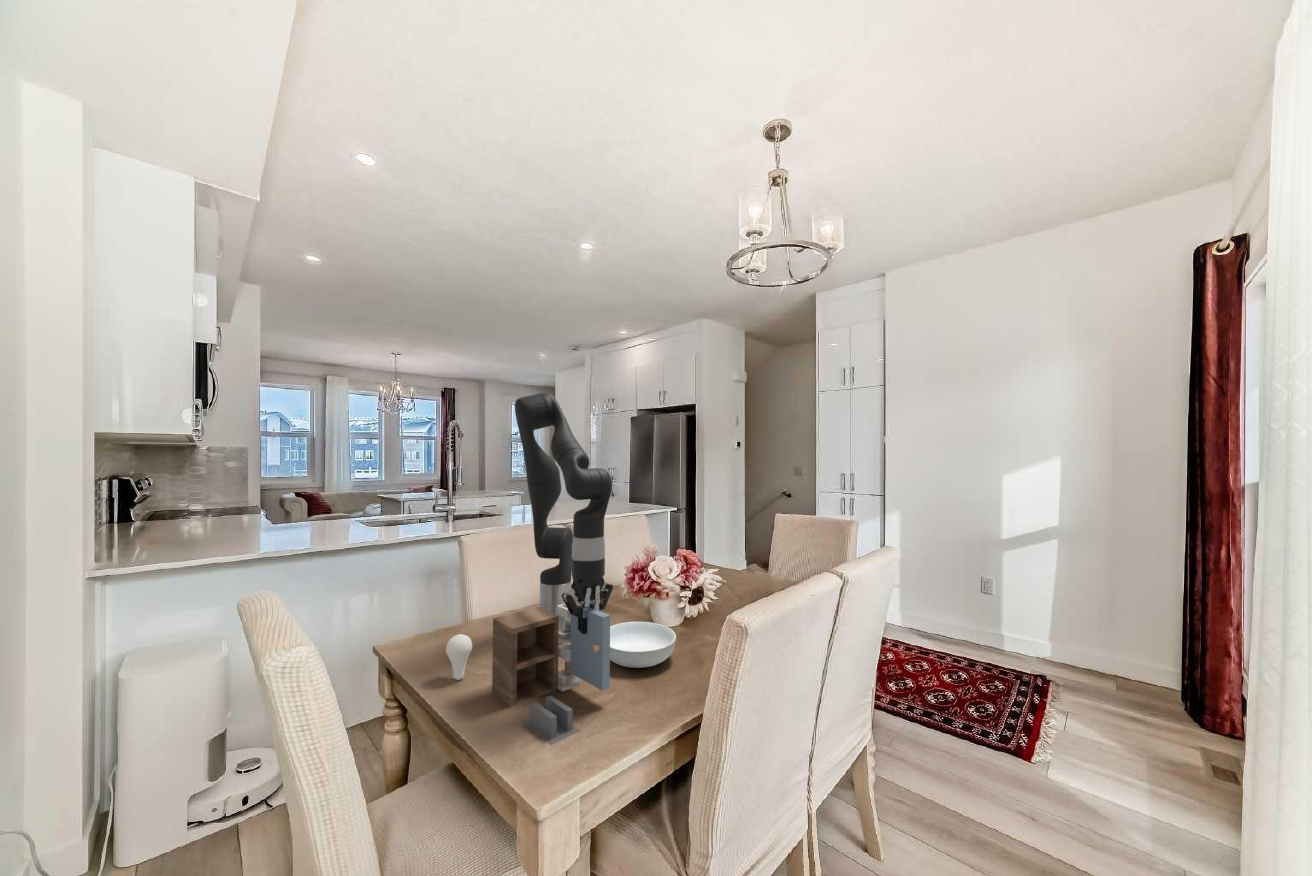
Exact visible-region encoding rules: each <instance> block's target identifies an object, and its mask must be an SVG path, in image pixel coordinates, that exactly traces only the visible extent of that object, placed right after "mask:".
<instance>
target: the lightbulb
mask: <svg viewBox="0 0 1312 876" xmlns="http://www.w3.org/2000/svg"><path fill="white" fill-rule="evenodd" d="M472 650H473V642H472V640H471V637H469V636H468V635H466V634H463V633H462V634H460V633H458V634H455V635H454V636H452V637H450V639H449V640H448V641H447V644H446V645H445V653H446V655H447V657H448V658H449V661H450V663H451V669H452V673H453V674H452V677H453V679H455V680H456V681H461V680H462V679H463V678H464V677H465V672H466V671H465V669H466V667H467V661H468V658H469V656H470V654H471V653H472Z"/></svg>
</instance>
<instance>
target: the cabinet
mask: <svg viewBox="0 0 1312 876" xmlns="http://www.w3.org/2000/svg"><path fill="white" fill-rule="evenodd" d="M570 640H571V619H567V620H565V628H563V629H559V616H557V615H555V614H553V613H551V612H548V611H546V610H544V609H542V608H540V606H539V607H533V608H529V609H524V610H521V611H517V612H513V613H508V614H504V615H501V616H498V617H494V618H492V661H491V662H492V666H491V667H492V669H491V670H492V674H491V675H492V676H491V677H492V678H491V679H492V681H491V682H492V683H491V684H492V685H491V692H492V693H493V695H495V696H496V697H498V698H499V699H500V700H502V701H503V702H504V703H506V704H507V705H508V706H510V707H514V706H518V705H520V704H522V703H525V702H527V701H529V700H532V699H535V698H538V697H540V696H543V695H546V694H548V693H550V692H553V691H555V690H559V691H561V692H564V691H566V690H567V691H568V690H570V689H573V688H575V687H577V686H580V678H579V677H577V676H575V675H573V674H572V673H570V660H569V661H565V662H564V669H562V670H559V657H558V647H559V644H562V645H565V644H568V643H570ZM558 642H560V643H559V644H558Z"/></svg>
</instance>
